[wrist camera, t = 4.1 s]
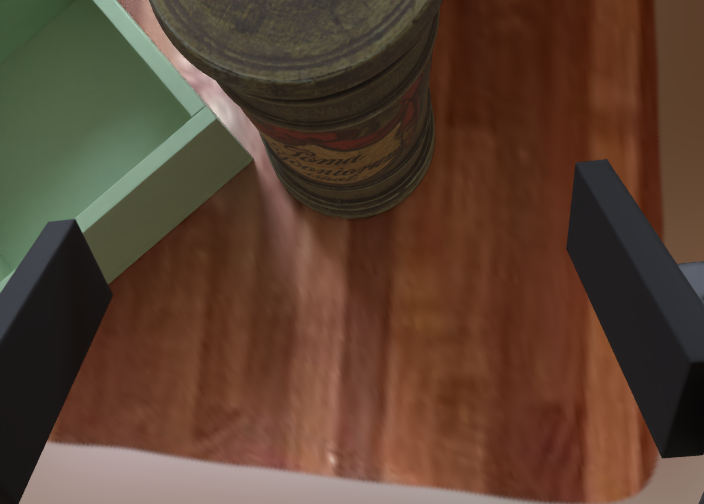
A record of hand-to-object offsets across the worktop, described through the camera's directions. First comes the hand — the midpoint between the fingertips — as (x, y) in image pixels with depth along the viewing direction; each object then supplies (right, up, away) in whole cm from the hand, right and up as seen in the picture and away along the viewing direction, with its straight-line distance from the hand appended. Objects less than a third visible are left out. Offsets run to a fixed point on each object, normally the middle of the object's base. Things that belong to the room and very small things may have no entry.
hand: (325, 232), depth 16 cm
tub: (-15, +5, +18) cm, 24 cm away
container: (+1, +6, +17) cm, 18 cm away
